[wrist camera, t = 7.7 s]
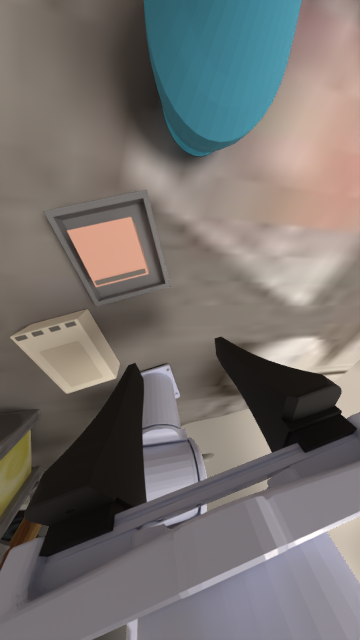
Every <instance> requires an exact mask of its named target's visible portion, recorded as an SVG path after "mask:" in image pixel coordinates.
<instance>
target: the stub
mask: <svg viewBox="0 0 360 640" xmlns="http://www.w3.org/2000/svg"><path fill="white" fill-rule="evenodd" d="M67 232H68V234H69V236H70V238H71V240H72V242H73V244H74V246H75V248H76V250H77V252H78V254H79V256H80V258H81V259H82V261H83V263H84V265H85V267H86V269H87V271H88V273H89V275H90V277H91V279H92V281H93V283H94V285H95V287H99V286H103V285H107V284H111V283H115V282H119V281H123V280H127V279H131V278H135V277H139V276H143V275H147V274H149V269H148V265H147V262H146V259H145V256H144V252H143V249H142V246H141V242H140V239H139V236H138V232H137V229H136V226H135V224H134V222H133V220H132V218H131V217H127V218H123V219H118V220H113V221H109V222H104V223H99V224H95V225H90V226H86V227H81V228H76V229H72V230H67Z"/></svg>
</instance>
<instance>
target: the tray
mask: <svg viewBox="0 0 360 640" xmlns="http://www.w3.org/2000/svg"><path fill="white" fill-rule="evenodd" d="M43 212H44V213H45V215H46V217H47V219H48V221H49V222H50V224H51V226H52V228H53V230H54V231H55V233H56V235H57V237H58V239H59V241H60V242H61V244H62V246H63V248H64V250H65V251H66V253H67V255H68V257H69V259H70V260H71V262H72V264H73V266H74V268H75V269H76V271H77V273H78V275H79V277H80V278H81V280H82V282H83V284H84V286H85V288H86V289H87V291H88V293H89V295H90V297H91V298H92V300H93V302H94V304H95V306H96V307H97V306H101V305H104V304H108V303H112V302H115V301H119V300H123V299H127V298H130V297H134V296H138V295H141V294H145V293H149V292H153V291H156V290H160V289H164V288H167V287H171V285H170V281H169V277H168V273H167V269H166V265H165V261H164V257H163V253H162V249H161V245H160V241H159V237H158V233H157V229H156V225H155V221H154V217H153V213H152V209H151V205H150V201H149V197H148V193H147V190H143V191H138V192H133V193H128V194H124V195H119V196H114V197H109V198H104V199H99V200H95V201H90V202H85V203H80V204H75V205H70V206H66V207H61V208H56V209H51V210H46V211H43ZM127 217H131V218H132V220H133V222H134V224H135V226H136V229H137V232H138V236H139V239H140V242H141V246H142V249H143V252H144V256H145V259H146V262H147V265H148V269H149V274H147V275H143V276H139V277H135V278H131V279H127V280H123V281H119V282H115V283H111V284H107V285H103V286H99V287H95V285H94V283H93V281H92V279H91V277H90V275H89V273H88V271H87V269H86V267H85V265H84V263H83V261H82V259H81V258H80V256H79V254H78V252H77V250H76V248H75V246H74V244H73V242H72V240H71V238H70V236H69V234H68V232H67V230H72V229H76V228H81V227H86V226H90V225H95V224H99V223H104V222H109V221H113V220H118V219H123V218H127Z"/></svg>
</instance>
